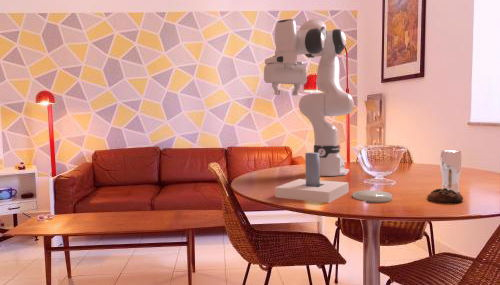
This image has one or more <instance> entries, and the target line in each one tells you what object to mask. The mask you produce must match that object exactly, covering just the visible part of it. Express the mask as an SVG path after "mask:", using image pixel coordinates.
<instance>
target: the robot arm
mask: <svg viewBox="0 0 500 285" xmlns="http://www.w3.org/2000/svg"><path fill="white" fill-rule="evenodd" d="M275 23H276V24H275V30H274V45H275V50H274V55H272V56H271V57H267V58H265V59H264V64H265V66H264V67H263V81H264V83H266V84H271V86H272V89H273V91H274V94H273V95H275V96H279V95H281V90H279V84H280V85H281V84H283V85H284V84H285V85H293V87H294V89H293V90H292V92H291V94H292V96H295V97H296V96H298V94H299V92H298V91H299V90H300V88H301V86H302V85H306V83H307V82H308V78H307V77H308V76H307V69H306V65H305V63H303V62H302V61H298V55H299V56H300V55H301V56H302V55H304V56H305V57H307V58H309V59H310V58H311V59H313V58H316V57H320V60H319V62H318V64H317V70H316V72H317V73H316V83H315V84H316V87H317V88H318V90H320V91H321V93H320V92H319V93H308V94H305V95H302V97H301V98H300V99H299V101H298V107H299V108H298V109H299V111H300V113H301V114H302V115H303V116H305V117H306V119H308V121H309V122H310V123H311V125H312V129H313V134H314V145H313V153H319V156H320V177H334V176H335V177H336V176H346V175H347V174H348V173H349V172H350V169H349V168H345V159H344V158H343V156H342V155H341V153H340V152H341V151H340V149H341V144H339V130H338V128H337V126H336V125H334V124H332V123H330V122H328V121H326V117H340V116H345V115H349V114H350V113H352V112H353V110H354V106H355V101H354V98H353V97H352V95H351V94H350V93H348V92H346V91H345V90H343V88H342V87H341V83H340V75H341V74H340V73H341V72H340V71H341V70H340V68H341V67H340V60H339V57H338V56H340V55H342V52H343V51H344V49H345V48H346V44H347V36H346V35H345V32H344V31H343V30H342V29H341V28H339V29H337V28H335V29H333V30H327V26H326V25H327V24H326V23H325V22H324V21H323V19H322V20H321V19H319V18H317V19H316V18H315V19H314V18H313V19H310V20H307V21H305V22H304V23H302V24H301V25H300V27H299V29H298V30H297V24H296V20H295V19H292V18H289V19H281V20H278V21H276V22H275Z"/></svg>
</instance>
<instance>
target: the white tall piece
mask: <svg viewBox="0 0 500 285" xmlns="http://www.w3.org/2000/svg"><path fill="white" fill-rule="evenodd" d="M439 160H440V161H439V162H440V163H439V167H440V172H441V178H442V180H441V181H442V183H441V189H444V188H446V189H447V190H450V189H451V190H453V191H455V192H456V193H459V194H460V187H459V185H460V184H459V182H460V176H461V171H462V151H461V150H453V149H452V150H451V149H445V150H441V151H440V158H439Z"/></svg>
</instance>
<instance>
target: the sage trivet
mask: <svg viewBox="0 0 500 285" xmlns="http://www.w3.org/2000/svg"><path fill="white" fill-rule="evenodd" d="M352 198H354V199H356V200H359V201H360V200H361V201H363V202H364V201H365V203H375V204H376V203H377V204H378V203H379V204H380V203H388V202H391V201H393V194H392V193H390V192H387V191H382V190H358V191H357V190H356V191H353V193H352Z"/></svg>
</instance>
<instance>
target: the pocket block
mask: <svg viewBox="0 0 500 285" xmlns="http://www.w3.org/2000/svg"><path fill="white" fill-rule="evenodd" d="M349 184H350V183H349V182H346V181H345V182H343V181H333V180H320V187H309V186H306V178H304V179H303V178H298V179H295V180H293V181H289V182H287V183H284V184H280V185H278V186H275V187H274V189H275V191H274V192H275V193H274V194H275V197H274V198H279V199H287V200H298V201H306V202H315V203H316V202H318V203H324V204H325V203H327V204H330V203H332V202H333V201H335V200H337V199H339V198H340V197H342V196H345V195H346V194H348V193H349V189H350V188H349V186H350V185H349Z"/></svg>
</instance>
